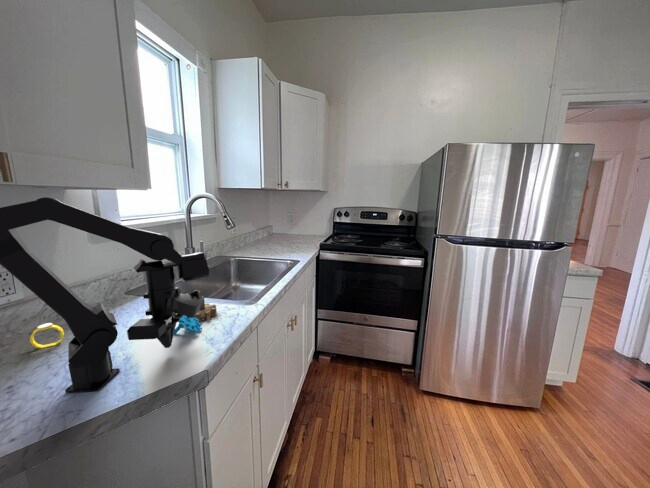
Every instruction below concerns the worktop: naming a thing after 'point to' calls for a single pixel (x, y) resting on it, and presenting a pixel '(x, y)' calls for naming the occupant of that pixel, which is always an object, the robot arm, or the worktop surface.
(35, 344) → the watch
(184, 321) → the gear
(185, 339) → the worktop surface
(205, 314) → the gear
